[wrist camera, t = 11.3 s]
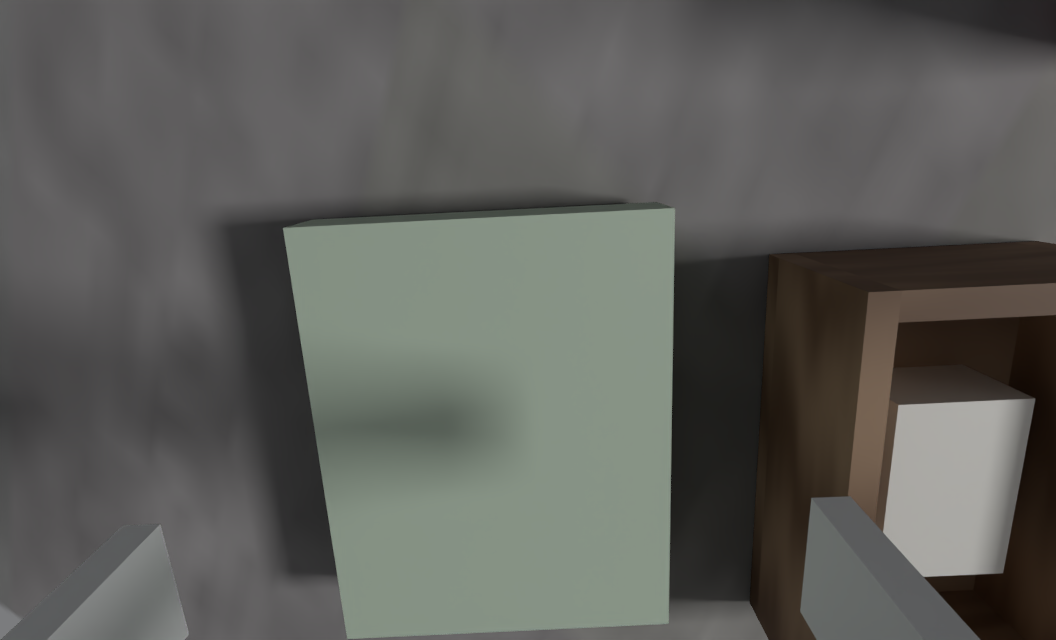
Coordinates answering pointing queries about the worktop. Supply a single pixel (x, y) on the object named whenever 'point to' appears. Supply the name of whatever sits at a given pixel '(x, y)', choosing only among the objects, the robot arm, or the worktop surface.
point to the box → (863, 399)
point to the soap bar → (952, 468)
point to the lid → (492, 414)
